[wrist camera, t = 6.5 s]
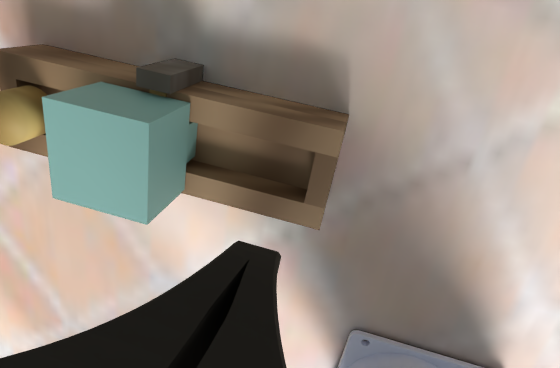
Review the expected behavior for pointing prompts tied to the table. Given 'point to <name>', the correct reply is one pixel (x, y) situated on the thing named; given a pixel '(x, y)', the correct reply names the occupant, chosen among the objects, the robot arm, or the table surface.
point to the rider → (118, 149)
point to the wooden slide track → (210, 131)
